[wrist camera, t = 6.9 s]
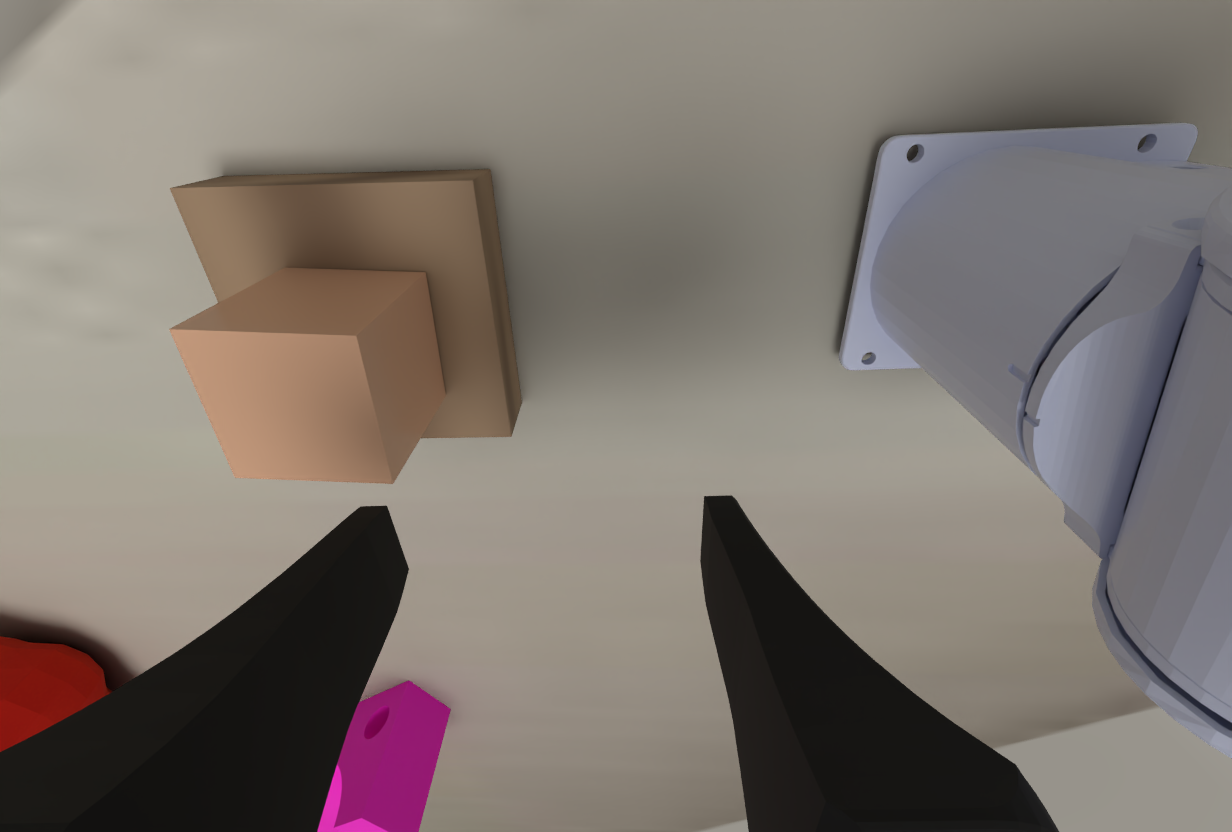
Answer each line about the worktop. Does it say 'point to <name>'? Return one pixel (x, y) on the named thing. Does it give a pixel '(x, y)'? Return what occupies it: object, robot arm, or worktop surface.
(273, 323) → the terracotta block
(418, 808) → the toy block
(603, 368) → the worktop surface
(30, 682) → the tomato
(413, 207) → the walnut block
